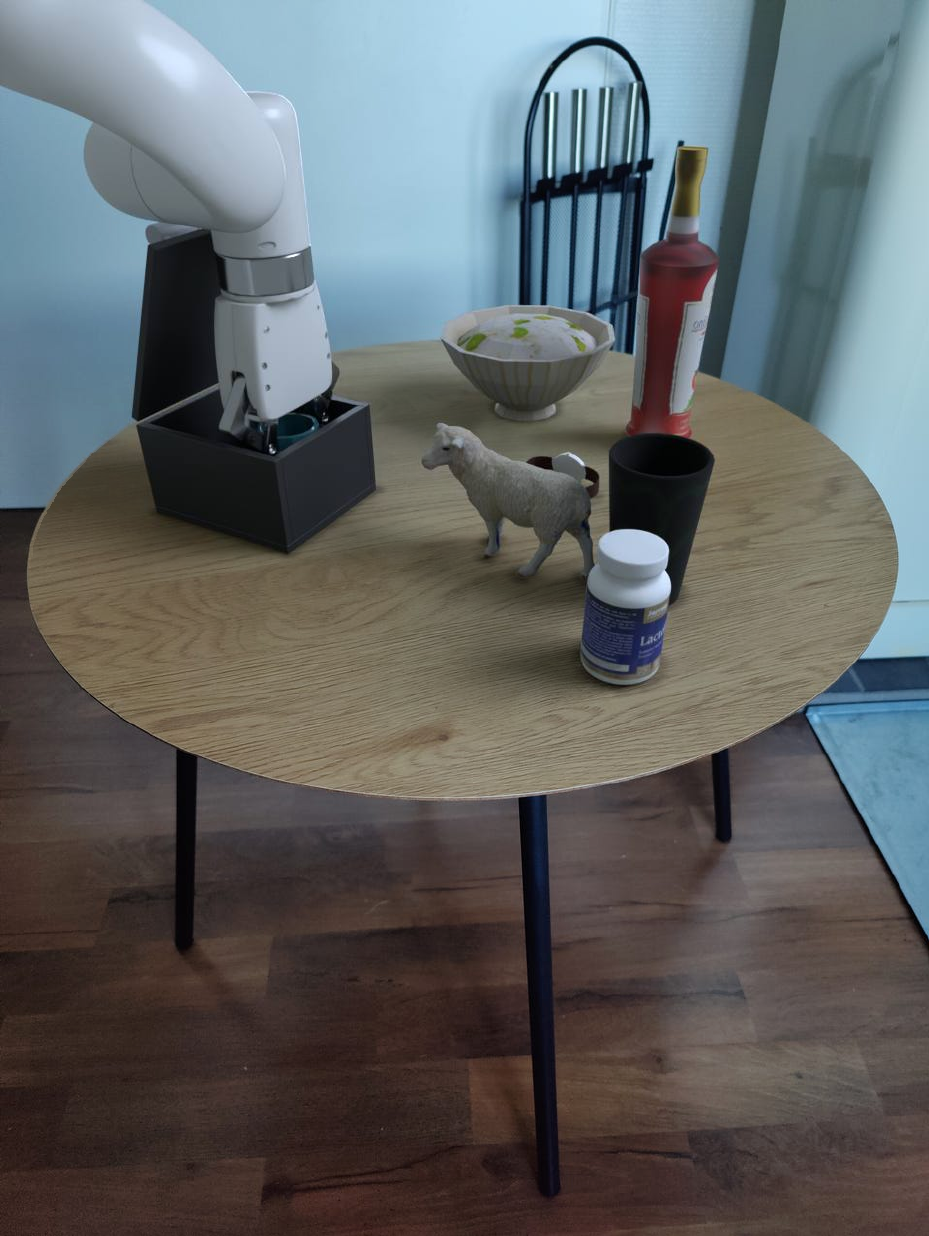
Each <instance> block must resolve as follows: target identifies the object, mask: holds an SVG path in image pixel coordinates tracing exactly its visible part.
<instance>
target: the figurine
mask: <svg viewBox="0 0 929 1236" xmlns="http://www.w3.org/2000/svg"><path fill="white" fill-rule="evenodd" d="M435 428H436V430H437V431H436V432H435V434H434V435H433V441H432V443H431V446H430V447H429V449H428V450H427V451H426V452H425V454H423V455H422V457H421V460H420V461H421V465H422V466H423V468H424V469H427V470H429V471H430V470H434V469H436V468H438V467H441V466H448V469H449V470H450V472H451V474H453V476H454V478H455V479H456V480H457V481H458V482H459V483H460V485H461V486H462V487H463V488H464V489H465V490H466V495H467V498H468V501H469V502H470V503H471V505H472V506H473V508H475V509H476V510H477V512H478V514H479V517H481V519H483V521H484V523H485V526H486V529H487V533H488V536H487V538H486V539H485V541H486V542H487V548H486V549H485V550H484V552H483V553H482V555H483V556H482V557H483V558H485V559H492V558H494V556H495V555H496V554H497V552H499V551H500V549H501V544H500V536H501V535H502V534H503V532H504V531H503V530H504V529H503V528H504V523H505V520H506V519H507V520H509V521H510V522H511V523H513V524H514V525H515V526H517V527H521V528H528V529H531V528H532V529H533V533H534V534H535V536H536V537H537V539H538V541H539V544H538V548H537V550H536V552H535V553H534V554H533V556H532V557H531V558H530V560H529V561H528V562H527V563H526V564H524V565H523V566H521V567H520V568H519V569H518V570H516V575H517V577H519V578H521V579H526V578H527V577H529V576H531V575H533V574H536V573H537V572H538V570H539V569H540V567H541V566H542V564H543V563H544V561H546V559H547V558H548V557H550V555H552V553H553V551H554V549H555V546H556V545H557V543H558V542H559V541H560V539H561V538H562V536H563V534H564V533H565V532H567V533H568V534H569V535H570V536H571V537H573V538H574V539H576V540H577V543H578V546H579V548H580V550H581V553H582V558H583V567H582V571H581V572H580V574H579V577H580V579H581V580H582V581H583V580H585V579H586V578H588V576H589V573H590V571H591V570H592V568H593V567H594V566H595V565H596V564H595V561H594V553H593V552H594V542H593V539H592V536H591V525H590V523H589V519H590V517H591V515H592V502H591V499H590V498H589V494H588V492H587V490H586V488H585V487H586V486H584V485H583V484H582V483H581V481H577V480H576V479H575V478H573V477H572V476H569V475H567V474H564V473H560V472H556V471H553V470H545V469H542V468H539V467H536V466H534V465H531V464H528V463H526V461H520V460H512V459H510V458H509V457H507V456H505V455H501V454H499V453H497V452H495V451H494V450H493V449H489V448H487V447H486V446H485V445H484V444H483V443H482V441H481V439H480V438H479V437H478V436H476V435H475V434H474V433H473V432H472V431H471V430H469V429H467V428H465V427H462V426H458V425H457V426H456V425H454V426H453V425H448V424H445V423H442V422H439V423H436V426H435Z"/></svg>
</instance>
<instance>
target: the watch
mask: <svg viewBox="0 0 929 1236" xmlns="http://www.w3.org/2000/svg"><path fill="white" fill-rule="evenodd" d="M525 463H528V464H531V465H534V466H536V467H539V468H542V469H545V470H549V471H553V472H560V473H564V474H567V475H569V476H572V477H573V478H575V479H576V480H577V481H579V482H581V481H583V480H586V481H589V482H591V483H592V484H591V485H589V486H584V487H585V488H586V490H587V492H588V494H589V498H590V500H591V499H593V498H594V497H596V496H597V495H598V493H599V491H600V477H601V476H600V474H599V472H598V471H596V469H594V468H592V467H590V466H587V465H585V462H584V461H583V460H582V459H581V458H579V457H578V456H577V455H575V454H573V453H571V452H570V451H566V452H562V453H560V454H559V455H557V456H547V455H538V456H532V457H530V458H529V459H528V460H526V461H525Z"/></svg>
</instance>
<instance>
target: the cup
mask: <svg viewBox="0 0 929 1236" xmlns="http://www.w3.org/2000/svg"><path fill="white" fill-rule="evenodd" d="M715 463H716V460H715V455H714V454H713V452H712V451H711V449H710V448H709V447H707V446H706V445H704V443H701V442H699V441H697V440H695V439H692V438H686V437H683V436H678V435H673V434H664V433H644V434H636V435H632V436H629V435H628V436H625V437H622V438H621V439H618V440H617V441H616V442H615V443H613V444H612V445H610V447H609V449H608V520H609V522H608V524H609V530H608V531H609V532H611V531H615V530H623V529H634V530H641V531H645V532H649V533H652V534H654V535H656V536H658V537H660V538H661V539H663V540H664V541H665V542H666V544H667V545H668V548H669V555H668V563H667V567H666V569H665V571H666V573H667V574H668V576H669V578H670V582H671V592H670V599H669V605H668V607H670V606H671V605H673V604H675V602H676V601H677V600H678V599H679V597H680V593H681V589H682V585H683V581H684V578H685V574H686V572H687V566H688V563H689V559H690V555H691V553H692V548H693V544H694V541H695V537H696V533H697V530H698V525H699V522H700V518H701V515H702V511H703V507H704V503H705V500H706V497H707V492H708V488H709V485H710V481H711V478H712V474H713V469H714V466H715ZM609 532H608V533H609Z"/></svg>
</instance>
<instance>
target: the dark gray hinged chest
mask: <svg viewBox="0 0 929 1236" xmlns="http://www.w3.org/2000/svg"><path fill="white" fill-rule="evenodd" d="M327 409H328V412H329V419H328V421H327V422H326V423H324V425H325V426H323V427H322V428H320V429H318V430H317V431H315V432H313V433H312V434H310V435H308V436H307V437H305V438H303V439H302V440H300V441H298V442H297V443H295V444H293V445H292V446H290V447H289V448H287V449H285V450H284V451H282V452H280V453H279V454H277V455H275V456H270V455H266V454H262V453H258V452H255V451H251V450H248V449H245V448H244V447H243V445H242V444H240V443H239V442H237V441H236V440H235V439H234V438H231V437H230V436H228V435H226V434H224V433H222V432H221V431H220V430H219V424H220V421H221V418H222V415H223V412H224V408H223V405H222V400H221V394H220V387H219V384H218V385H214V386H212V388H211V387H210V388H208V389H206V390H204V391H202V392H200V393H198V394H196V395H195V396H193V397H190V398H189V399H187V400H185V401H181V402H179V403H177V405H176V404H175V405H173V406H171V407H169V408H167V409H165V410H164V411H162V412H159V413H158V414H156V415H153V416H150V417H148V419H147V418H146V419H144V420H142V421H140V422H139V423H136V425H135V427H136V431H137V435H138V439H139V443H140V444H139V445H140V448H141V452H142V457H143V461H144V465H145V469H146V473H147V479H148V482H149V486H150V491H151V495H152V498H153V502H154V506H155V507H154V508H155V512H156V513H157V514H160V515H163V516H165V517H169V518H173V519H175V520H178V521H182V522H184V523H188V524H192V525H195V526H198V527H201V528H203V529H208V530H210V531H214V532H217V533H220V534H222V535H225V536H229V537H232V538H236V539H239V540H242V541H245V542H248V543H252V544H254V545H258V546H261V547H264V548H267V549H270V550H274V551H276V552H279V553H282V554H286V555H290V554H291V553H292V552H294V551H295V550H296V549H299V547H300V546H302V545H303V544H304V543H306V542H307V541H309V540H311V538H313V537H314V536H315V535H317V534H318V533H319V532H321V531H322V530H324V529H325V528H326V527H328V526H329V525H330V524H332V523H333V522H334V521H336V520H337V519H339V518H340V517H341V516H343V515H344V514H345V513H347V512H348V511H350V510H351V509H352V508H354V507H355V506H356V505H357V504H359V503H360V502H362V501H363V500H364V499H365V498H367V497H368V496H370V495H371V494H373V493H374V492H375V491H377V483H376V481H377V479H376V469H375V454H374V442H373V428H372V417H371V416H372V415H371V404H370V403H367V402H363V401H357V400H354V399H353V400H352V399H349V398H343V397H340V396H336V395H332V398H331V401H330V403H329V406H328V408H327ZM289 413H297V411H296V409H295V410H293V411H291V412H289ZM258 423H259V422H258Z"/></svg>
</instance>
